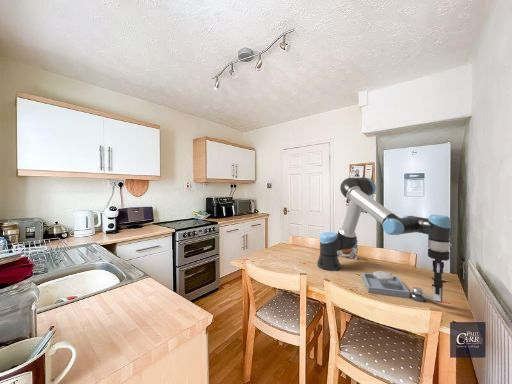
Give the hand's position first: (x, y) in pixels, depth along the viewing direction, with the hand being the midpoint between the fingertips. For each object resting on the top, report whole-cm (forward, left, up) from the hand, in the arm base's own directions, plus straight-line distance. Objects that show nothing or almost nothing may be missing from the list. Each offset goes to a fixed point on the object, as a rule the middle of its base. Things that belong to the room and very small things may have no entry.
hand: (437, 300), depth 98 cm
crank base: (-4, +9, -5) cm, 11 cm away
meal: (-32, +61, -5) cm, 69 cm away
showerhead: (-17, +18, -4) cm, 26 cm away
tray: (-17, +18, -5) cm, 25 cm away
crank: (-1, +7, -3) cm, 7 cm away
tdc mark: (+7, +9, -5) cm, 13 cm away
